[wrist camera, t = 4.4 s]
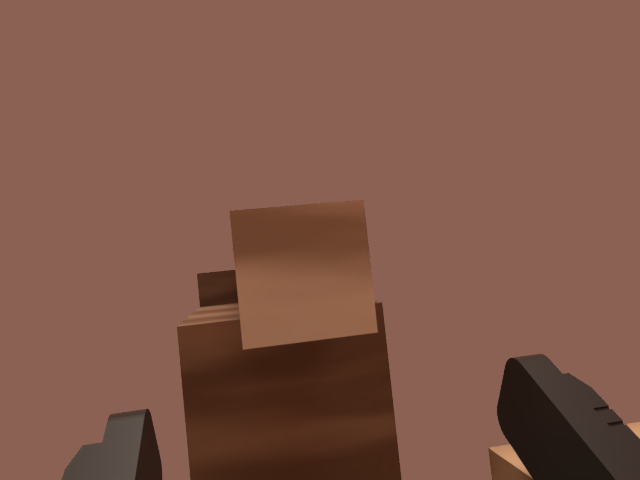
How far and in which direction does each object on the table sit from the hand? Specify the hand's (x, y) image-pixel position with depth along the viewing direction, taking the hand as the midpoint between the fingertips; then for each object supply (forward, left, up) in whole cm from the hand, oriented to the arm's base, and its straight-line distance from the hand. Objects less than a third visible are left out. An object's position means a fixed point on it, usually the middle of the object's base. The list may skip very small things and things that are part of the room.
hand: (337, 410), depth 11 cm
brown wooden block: (-8, +13, +1) cm, 16 cm away
